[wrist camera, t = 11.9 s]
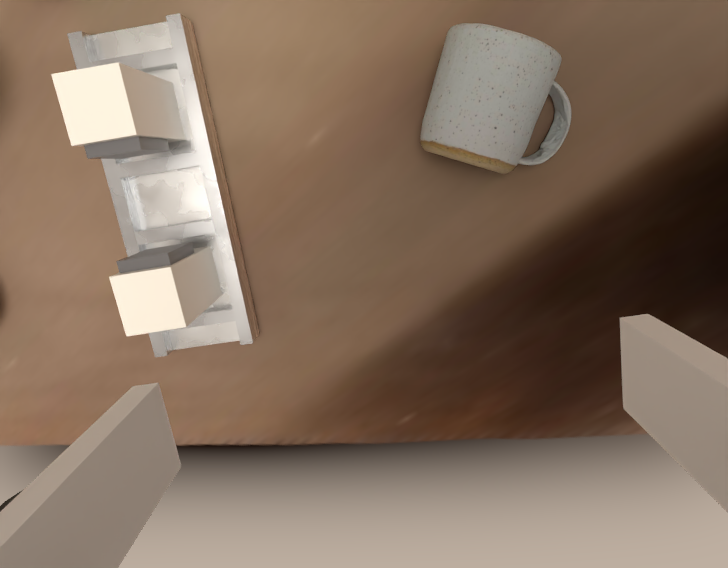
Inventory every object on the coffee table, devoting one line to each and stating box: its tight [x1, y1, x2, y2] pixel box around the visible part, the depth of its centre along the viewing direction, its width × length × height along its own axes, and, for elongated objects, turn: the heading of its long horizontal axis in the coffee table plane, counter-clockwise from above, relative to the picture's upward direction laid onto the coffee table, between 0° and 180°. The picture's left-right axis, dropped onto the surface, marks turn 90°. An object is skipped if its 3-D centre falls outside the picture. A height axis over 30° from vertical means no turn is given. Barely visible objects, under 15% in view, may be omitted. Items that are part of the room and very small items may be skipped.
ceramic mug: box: [420, 23, 571, 174], centre depth 34 cm, size 11×8×8 cm
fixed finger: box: [51, 62, 186, 159], centre depth 33 cm, size 4×5×8 cm
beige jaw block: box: [109, 242, 222, 336], centre depth 36 cm, size 4×5×8 cm
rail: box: [67, 13, 260, 357], centre depth 38 cm, size 8×24×2 cm, turn 9°
